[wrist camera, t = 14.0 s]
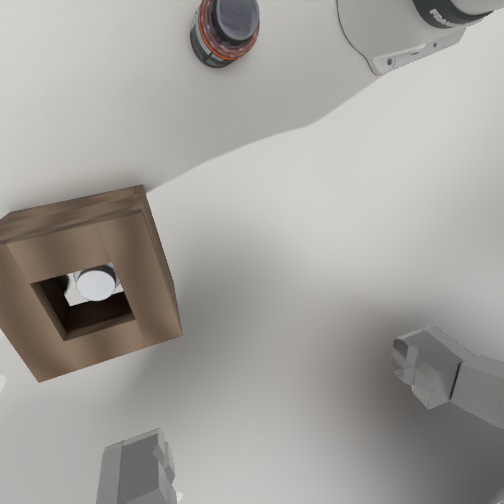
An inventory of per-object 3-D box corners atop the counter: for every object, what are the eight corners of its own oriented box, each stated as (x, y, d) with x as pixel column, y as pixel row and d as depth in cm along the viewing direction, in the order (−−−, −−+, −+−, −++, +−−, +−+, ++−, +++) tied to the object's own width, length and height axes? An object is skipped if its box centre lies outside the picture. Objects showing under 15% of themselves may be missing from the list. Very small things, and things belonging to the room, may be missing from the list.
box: (142, 184, 40) (141, 212, 29) (173, 282, 47) (182, 335, 36) (9, 212, 36) (-50, 256, 25) (65, 313, 44) (38, 382, 33)
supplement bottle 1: (120, 271, 44) (116, 309, 35) (79, 264, 41) (63, 303, 33) (129, 238, 42) (126, 270, 34) (86, 229, 40) (72, 260, 31)
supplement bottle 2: (232, 6, 35) (266, -35, 25) (241, 65, 38) (274, 48, 28) (183, 11, 34) (198, -30, 24) (195, 72, 36) (214, 57, 27)
